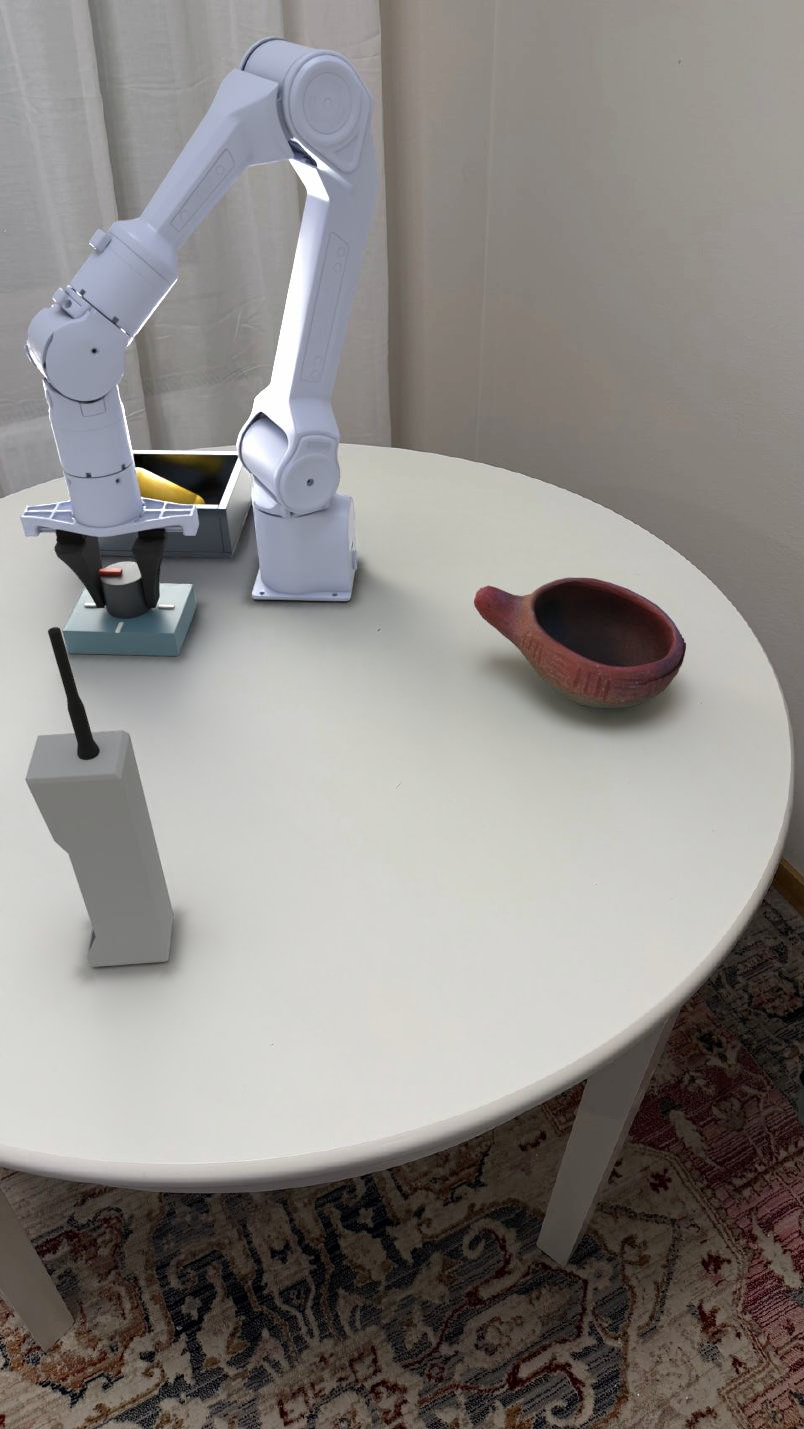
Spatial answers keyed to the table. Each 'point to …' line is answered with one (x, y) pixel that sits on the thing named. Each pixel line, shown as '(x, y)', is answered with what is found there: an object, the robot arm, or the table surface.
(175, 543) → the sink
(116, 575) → the rotary knob
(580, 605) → the bowl
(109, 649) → the dial base
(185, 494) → the yellow disc and capsule
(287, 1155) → the table surface
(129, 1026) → the table surface
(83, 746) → the vintage mobile phone
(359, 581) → the table surface
